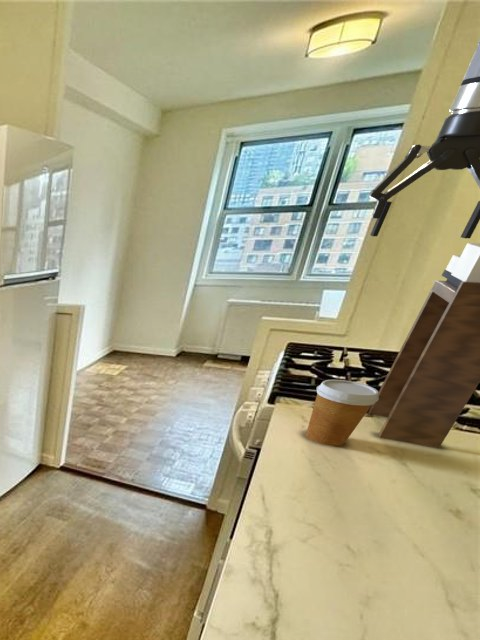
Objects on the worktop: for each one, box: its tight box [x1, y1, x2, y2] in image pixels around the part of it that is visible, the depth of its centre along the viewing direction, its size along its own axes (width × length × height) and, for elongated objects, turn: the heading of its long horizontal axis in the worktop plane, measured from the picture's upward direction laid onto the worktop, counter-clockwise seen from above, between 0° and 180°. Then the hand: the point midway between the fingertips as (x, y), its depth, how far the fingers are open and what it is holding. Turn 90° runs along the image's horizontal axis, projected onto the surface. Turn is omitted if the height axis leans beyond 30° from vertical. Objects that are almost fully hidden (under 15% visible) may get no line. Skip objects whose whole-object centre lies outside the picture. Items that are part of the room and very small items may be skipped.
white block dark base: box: [441, 242, 480, 287], centre depth 95 cm, size 6×18×7 cm, turn 145°
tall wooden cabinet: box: [368, 280, 480, 449], centre depth 98 cm, size 9×16×32 cm, turn 145°
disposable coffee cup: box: [305, 379, 379, 447], centre depth 100 cm, size 10×10×12 cm
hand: (417, 237), depth 99 cm, fingers open, 13 cm apart
